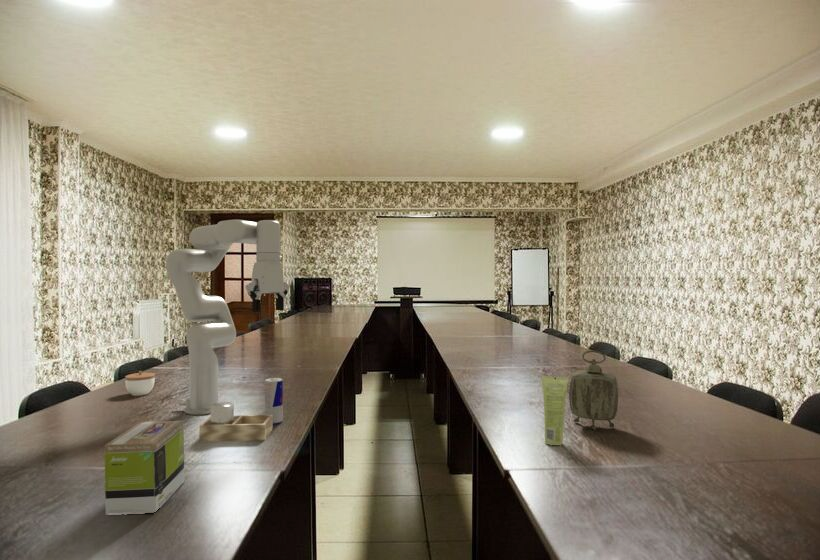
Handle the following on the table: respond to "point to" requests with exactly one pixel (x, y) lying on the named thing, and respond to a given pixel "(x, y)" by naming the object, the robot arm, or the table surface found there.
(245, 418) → the caddy
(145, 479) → the tea box
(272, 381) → the beverage can
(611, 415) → the tabletop clock
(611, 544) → the table surface
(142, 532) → the table surface
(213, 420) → the grey rounded cylinder
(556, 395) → the tube
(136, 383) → the lidded jar
